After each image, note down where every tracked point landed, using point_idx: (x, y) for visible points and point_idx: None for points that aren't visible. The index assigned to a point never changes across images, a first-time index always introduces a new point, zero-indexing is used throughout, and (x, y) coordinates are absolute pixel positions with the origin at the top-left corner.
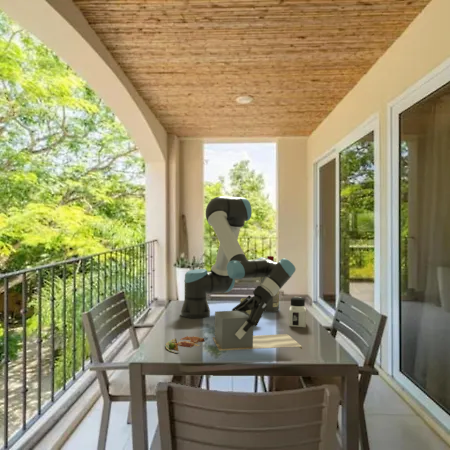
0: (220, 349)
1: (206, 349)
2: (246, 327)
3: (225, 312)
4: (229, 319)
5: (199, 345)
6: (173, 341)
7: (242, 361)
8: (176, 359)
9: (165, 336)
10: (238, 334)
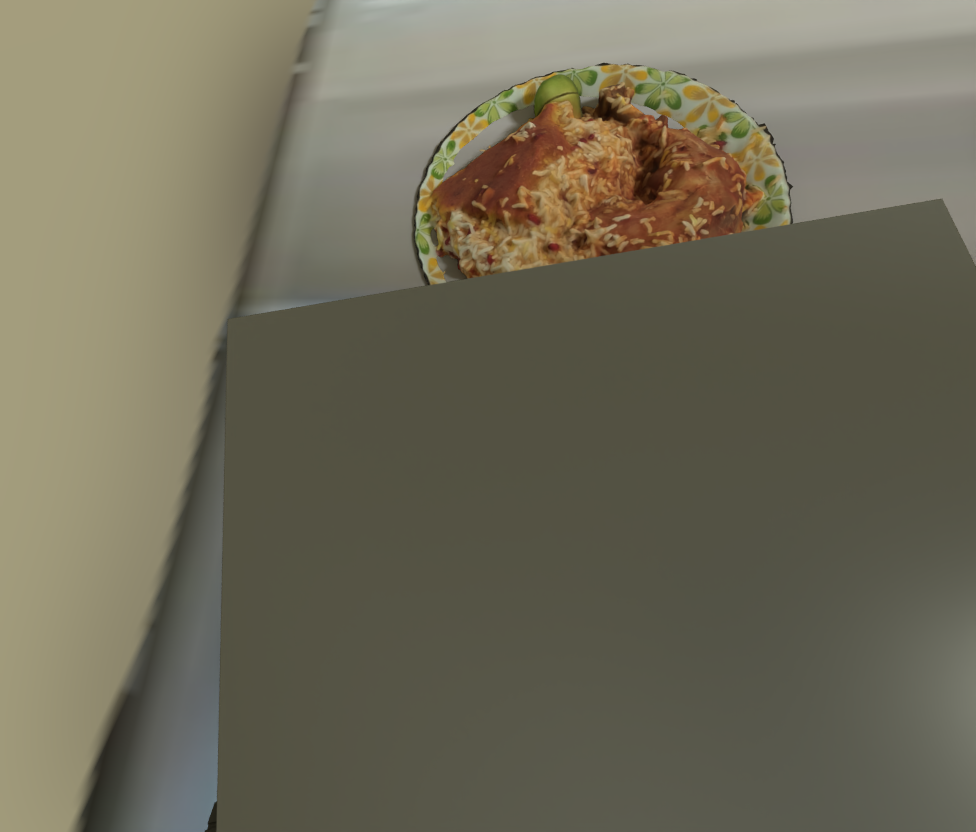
0: None
1: None
2: (214, 818)
3: (880, 444)
4: (238, 476)
5: (501, 265)
6: (686, 105)
7: (201, 591)
8: (334, 157)
9: (836, 50)
10: None
